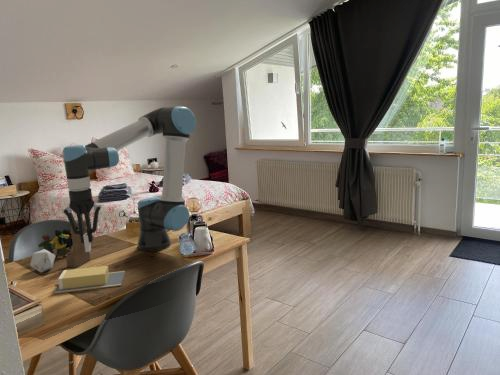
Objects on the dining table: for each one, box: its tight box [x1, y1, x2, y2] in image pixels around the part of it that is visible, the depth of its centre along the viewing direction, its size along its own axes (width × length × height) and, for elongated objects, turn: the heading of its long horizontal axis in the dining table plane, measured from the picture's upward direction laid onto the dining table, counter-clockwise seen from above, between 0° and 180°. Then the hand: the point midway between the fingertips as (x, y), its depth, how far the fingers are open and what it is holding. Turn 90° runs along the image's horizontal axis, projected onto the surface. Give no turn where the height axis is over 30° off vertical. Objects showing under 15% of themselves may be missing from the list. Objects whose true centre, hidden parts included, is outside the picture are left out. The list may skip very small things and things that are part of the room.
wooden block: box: [65, 219, 91, 269], centre depth 167 cm, size 9×4×18 cm, turn 160°
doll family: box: [37, 228, 73, 259], centre depth 180 cm, size 23×9×13 cm, turn 157°
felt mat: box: [53, 270, 126, 295], centre depth 149 cm, size 23×13×1 cm, turn 101°
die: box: [29, 248, 57, 274], centre depth 162 cm, size 8×9×10 cm
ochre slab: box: [57, 265, 110, 289], centre depth 148 cm, size 4×8×16 cm
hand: (88, 250), depth 147 cm, fingers closed
